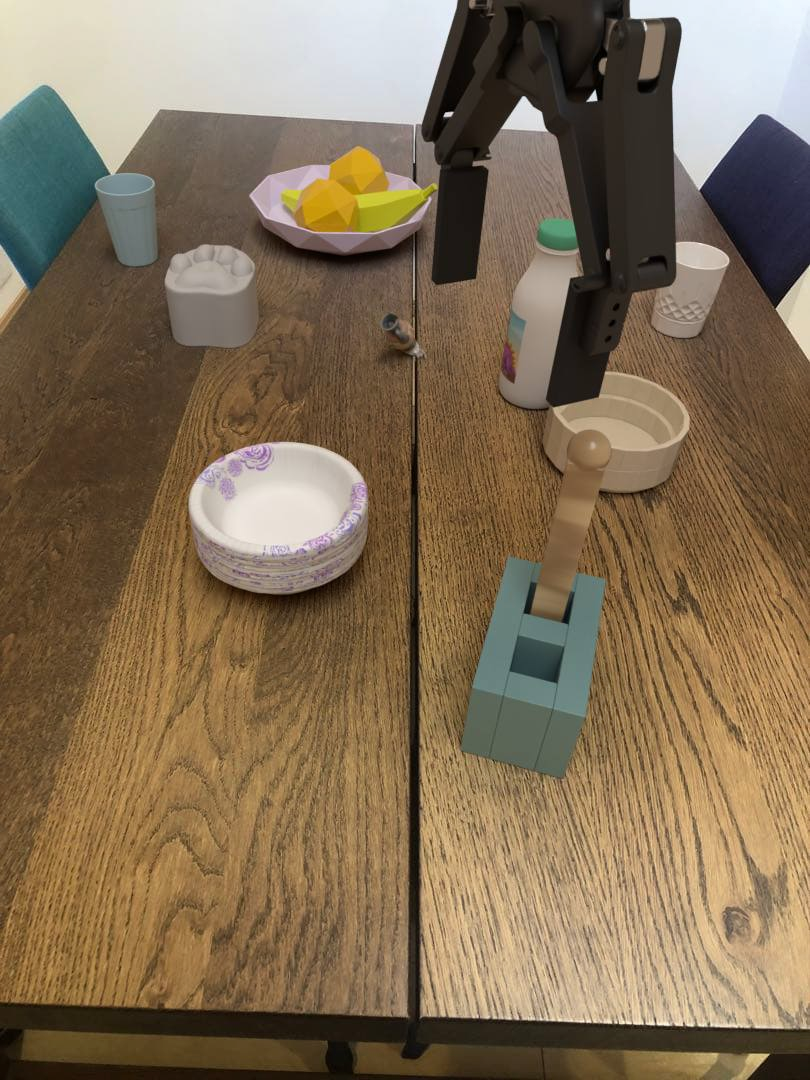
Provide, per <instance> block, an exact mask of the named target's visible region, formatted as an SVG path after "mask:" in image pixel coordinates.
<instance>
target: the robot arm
mask: <svg viewBox="0 0 810 1080" xmlns="http://www.w3.org/2000/svg"><path fill="white" fill-rule="evenodd" d="M682 35H683V30H682V23H681V21H680V20H679V18H677V17H675V16H670V17H669V16H668V17H648V18H633V17H631V0H457V1H456V7H455V12H454V14H453V17H452V21H451V25H450V28H449V31H448V35H447V38H446V41H445V44H444V47H443V51H442V55H441V58H440V61H439V65H438V68H437V71H436V74H435V78H434V82H433V85H432V88H431V92H430V95H429V98H428V102H427V105H426V109H425V112H424V115H423V118H422V122H421V128H420V132H421V137H422V139H423V141H424V142H425V143H433V145H434V147H433V154H434V160H435V164H437V166H440V168H439V175H438V186H437V188H438V190H437V202H436V212H435V213H436V214H435V228H434V241H433V250H432V251H433V253H432V265H431V279H430V280H431V281H432V282H433V284H434V285H436V286H440V285H441V286H442V285H447V284H454V283H460V282H467V281H473V280H477V275H478V266H479V265H478V264H479V257H480V249H481V242H482V241H481V240H482V232H483V223H484V215H485V208H486V207H485V206H486V199H487V190H488V181H489V172H490V169H489V168H487V167H486V166H485V165H483V164H481V165H474V162H475V163H476V162H483V161H490V160H492V159H493V158H492V156H487V155H491V151H490V147H491V144H492V143H493V142H494V140H495V138H496V137H497V135H498V134H499V133H500V130H501V129H502V128H503V127H504V125H505V123H506V122H507V120H508V119H509V118H510V116H511V115H512V113H513V112H514V110H515V109H516V107H517V106H518V104H519V103H520V102H521V100H522V98H523V97H525V98H526V100H527V101H528V102H529V104H530V105H531V107H533V108H534V109H536V110H537V111H539V112H541V115H542V121H543V125H544V127H545V129H546V131H547V132H548V133H549V134H551V135H553V136H554V137H555V139H556V140H557V144H558V145H557V146H558V150H559V155H560V161H561V166H562V170H563V175H564V181H565V185H566V191H567V196H568V201H569V206H570V211H571V216H572V221H573V222H574V227H575V232H576V237H577V243H578V248H579V252H578V253H579V257H580V263H581V268H582V272H583V275H580V276H579V275H578V277H573V278H570V282H569V287H568V292H567V297H566V302H565V306H564V311H563V316H562V321H561V326H560V331H559V336H558V341H557V346H556V351H555V356H554V361H553V366H552V371H551V375H550V380H549V385H548V390H547V395H546V401H547V402H548V403H549V404H550V405H551V406H552V407H553V408H554V407H559V406H563V405H567V404H572V403H576V402H581V401H585V400H590V399H594V398H598V397H599V395H600V391H601V387H602V383H603V379H604V375H605V372H607V371H606V370H607V367H608V363H609V360H610V355H611V352H614V351H615V350H616V349H617V347H618V346H619V345H620V342H621V338H622V334H623V333H622V332H623V330H624V327H625V323H626V319H627V315H628V312H629V307H630V304H631V299H632V296H633V294H636V293H641V292H646V291H653V290H657V289H658V288H664V287H668V286H671V285H672V284H673V283H674V281H675V278H676V272H677V271H676V243H677V234H676V228H677V227H676V193H675V192H676V191H675V189H676V187H675V149H674V148H675V145H674V105H673V104H674V101H673V86H674V81H675V75H676V70H677V64H678V60H679V53H680V48H681V42H682V38H683V37H682ZM594 93H595V97H596V100H592V101H589V99H590V98H591V96H592V95H593V94H594ZM446 113H452V114H451V116H450V115H449V116H445V115H446ZM608 250H609V258H607V253H608V252H607V251H608Z"/></svg>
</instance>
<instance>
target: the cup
mask: <svg viewBox="0 0 810 1080" xmlns="http://www.w3.org/2000/svg"><path fill="white" fill-rule="evenodd" d="M94 189H95V192H96V195H97V198H98V201H99V204H100V208H101V210H102V214H103V217H104V220H105V223H106V226H107V228H108V229H107V230H108V233H109V236H110V239H111V242H112V246H113V249H114V252H115V255H116V258H117V261H118V262H119V263H120V264H122V265H124V266H127V267H144V266H149V265H151V264H153V263H155V262H156V261H157V260H158V258H159V252H158V251H159V250H158V249H159V248H158V231H157V229H158V227H157V209H156V183H155V180H154V179H153V178H151V177H150V176H147V175H145V174H141V173H133V172H122V173H113V174H109V175H105V176H103V177H101V178H99V179H97V181H96V182H95V183H94Z"/></svg>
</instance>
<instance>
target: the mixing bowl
mask: <svg viewBox="0 0 810 1080" xmlns="http://www.w3.org/2000/svg"><path fill="white" fill-rule="evenodd" d="M690 422H691V416H690V414H689V412H688V409H687V408H686V406H685V404H684V403H683V402H682V401H681V400H680V399H679V398H678V397H677V396H676V395H675V394H674V393H672V392H671V390H669V389H666V388H665V387H663V386H661V385H660V384H658V383H656V382H654V381H653V380H652V381H651V380H649V379H646V378H643V377H640V376H638V375H634V374H629V373H623V372H619V371H605V375H604V379H603V383H602V387H601V391H600V395H599V397H598V398H594V399H590V400H585V401H581V402H576V403H572V404H567V405H563V406H559V407H554V408H553V407H552V406H551V405H550V406H549V407H548V411H547V416H546V421H545V425H544V430H543V435H542V440H541V441H542V444H543V448H544V452H545V455H546V457H548V458H549V460H550V461H551V462H552V464H553V465H554V466H555V467H556V469H557V470H558V471H559V472H561V473H562V474H563V475H564V471H565V467H566V463H567V459H568V458H567V446H568V443H569V441H570V440H571V438H572V437H573V436H574V435H575V434H577V433H578V432H580V431H583V430H588V429H591V430H597V431H599V432H601V433H603V434H604V435H605V436H606V437H607V438H608V440H609V441H610V444H611V448H612V455H611V458H610V461H609V463H608V464H607V465H606V467H605V472H604V475H603V479H602V482H601V486H600V489H599V492H605V493H613V494H629V493H637V492H642V491H646V490H648V489H651V488H655V487H656V486H659V485H660V484H662V483H664V482H666V481H667V480H668V479H669V478H670V476H671V475H672V473H673V472H674V471H675V469H676V467H677V464H678V461H679V459H680V455H681V452H682V450H683V447H684V445H685V442H686V439H687V436H688V434H689V431H690V426H691V425H690Z"/></svg>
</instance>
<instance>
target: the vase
mask: <svg viewBox="0 0 810 1080" xmlns="http://www.w3.org/2000/svg"><path fill="white" fill-rule="evenodd" d="M379 327H380V328H381V330H382V331H384V332H385V339H386V341H387V343H388V344H389V345H390V346H391V347H393V349H396V350H400V351H402V352H403V353H404V354H407V355H410V356H413V360H414V361H413V362H412V363H413V364H414V363H415V361H416V359H418V360H417V362H420V360H419V359H420V358H423V356H424V358H425V359H427V358H428V355H427V354H426V352H425V351H424V349H423V348H420V345H419V343H418V341H417V339H416V337H415V330H414V328H413V326H412V325H411V324H410V323H409V322H408V321H406V320H404V319H399V317H398V316H397V315H396V314H394V313H391V312H387V313H385V314H384V315H383V316H382V317H381V319H380V321H379Z"/></svg>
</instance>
